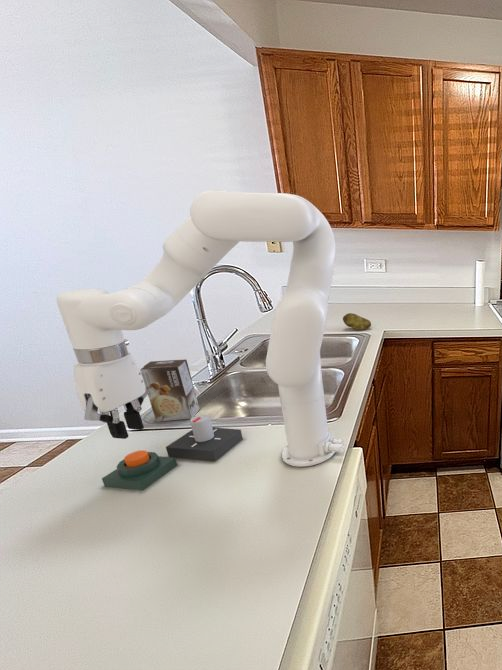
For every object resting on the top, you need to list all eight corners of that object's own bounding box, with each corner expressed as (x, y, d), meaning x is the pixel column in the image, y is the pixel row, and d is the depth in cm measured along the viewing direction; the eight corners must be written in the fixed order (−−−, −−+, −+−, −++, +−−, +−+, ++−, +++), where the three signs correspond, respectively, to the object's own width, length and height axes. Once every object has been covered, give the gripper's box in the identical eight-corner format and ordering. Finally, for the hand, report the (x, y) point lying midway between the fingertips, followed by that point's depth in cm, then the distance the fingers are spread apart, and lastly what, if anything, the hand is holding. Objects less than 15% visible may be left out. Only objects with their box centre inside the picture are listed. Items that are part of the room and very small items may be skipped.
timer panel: (243, 439, 104) (240, 428, 102) (215, 462, 94) (212, 450, 93) (200, 435, 105) (197, 425, 103) (168, 457, 95) (165, 446, 94)
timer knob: (203, 433, 100) (197, 412, 98) (218, 434, 100) (213, 413, 98) (191, 441, 97) (185, 420, 95) (206, 442, 96) (201, 421, 94)
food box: (200, 408, 118) (188, 358, 112) (192, 419, 112) (179, 366, 107) (164, 411, 116) (150, 360, 110) (154, 422, 110) (138, 369, 104)
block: (177, 465, 93) (173, 450, 91) (143, 490, 84) (138, 475, 83) (142, 462, 93) (137, 447, 92) (104, 487, 85) (98, 471, 83)
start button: (154, 457, 89) (152, 451, 88) (138, 468, 85) (136, 461, 85) (138, 456, 89) (135, 449, 89) (121, 466, 86) (118, 460, 85)
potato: (366, 332, 195) (364, 316, 192) (341, 330, 196) (340, 314, 193) (372, 327, 202) (371, 312, 199) (349, 326, 204) (347, 310, 201)
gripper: (123, 339, 86) (146, 413, 93) (38, 366, 71) (72, 453, 78) (155, 341, 86) (176, 416, 92) (76, 369, 70) (107, 456, 77)
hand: (128, 432), depth 85 cm, fingers open, 3 cm apart
